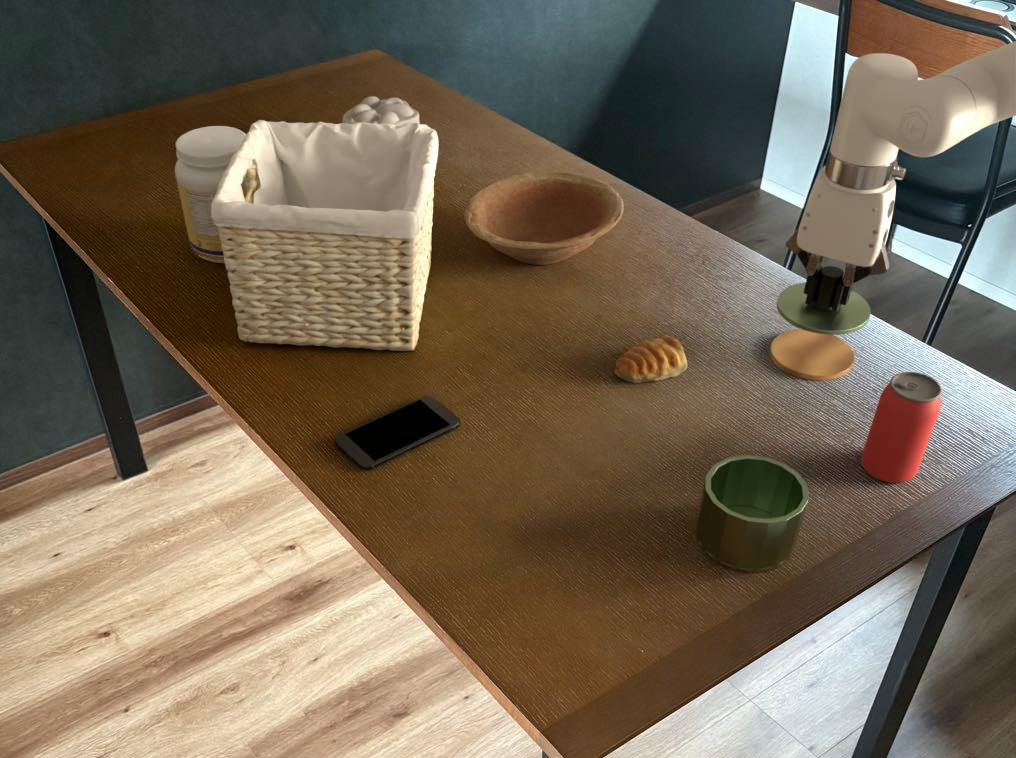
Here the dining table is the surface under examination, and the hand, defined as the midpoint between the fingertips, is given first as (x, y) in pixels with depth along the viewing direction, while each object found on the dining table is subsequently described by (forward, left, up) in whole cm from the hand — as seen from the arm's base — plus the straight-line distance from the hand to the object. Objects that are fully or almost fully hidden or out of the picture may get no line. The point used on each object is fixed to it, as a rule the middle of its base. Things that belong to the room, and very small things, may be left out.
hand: (824, 302), depth 140 cm
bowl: (+45, -6, -9) cm, 46 cm away
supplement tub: (+87, +18, -9) cm, 89 cm away
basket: (+62, +22, -9) cm, 66 cm away
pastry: (+17, +14, -9) cm, 24 cm away
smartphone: (+38, +43, -8) cm, 58 cm away
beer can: (-16, +18, -9) cm, 25 cm away
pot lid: (0, 0, -1) cm, 1 cm away
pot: (-6, +38, -8) cm, 39 cm away
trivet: (0, 0, -8) cm, 8 cm away
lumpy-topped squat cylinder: (+86, -21, -9) cm, 89 cm away
